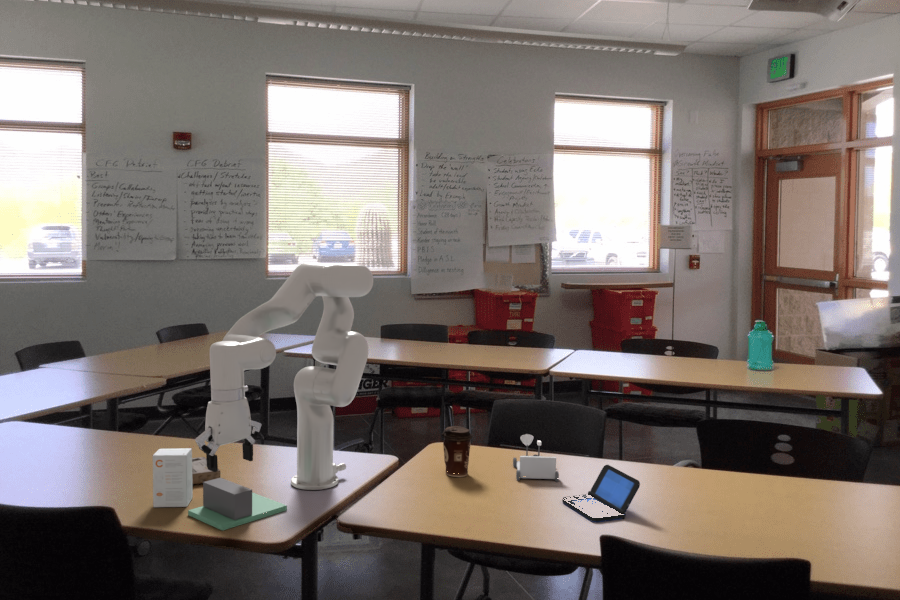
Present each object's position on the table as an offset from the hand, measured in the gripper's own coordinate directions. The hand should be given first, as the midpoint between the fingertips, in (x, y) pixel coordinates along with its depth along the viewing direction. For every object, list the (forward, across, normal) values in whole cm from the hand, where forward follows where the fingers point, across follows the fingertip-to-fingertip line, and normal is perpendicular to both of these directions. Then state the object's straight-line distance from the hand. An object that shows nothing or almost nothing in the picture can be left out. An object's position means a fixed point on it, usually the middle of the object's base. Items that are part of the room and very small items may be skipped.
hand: (230, 465), depth 183 cm
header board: (+12, -1, 0) cm, 12 cm away
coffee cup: (+15, -61, +18) cm, 66 cm away
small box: (+12, +6, -17) cm, 21 cm away
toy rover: (+16, -79, +33) cm, 87 cm away
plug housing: (+11, +2, 0) cm, 11 cm away
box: (+13, -10, -32) cm, 36 cm away
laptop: (+15, -64, +62) cm, 91 cm away
